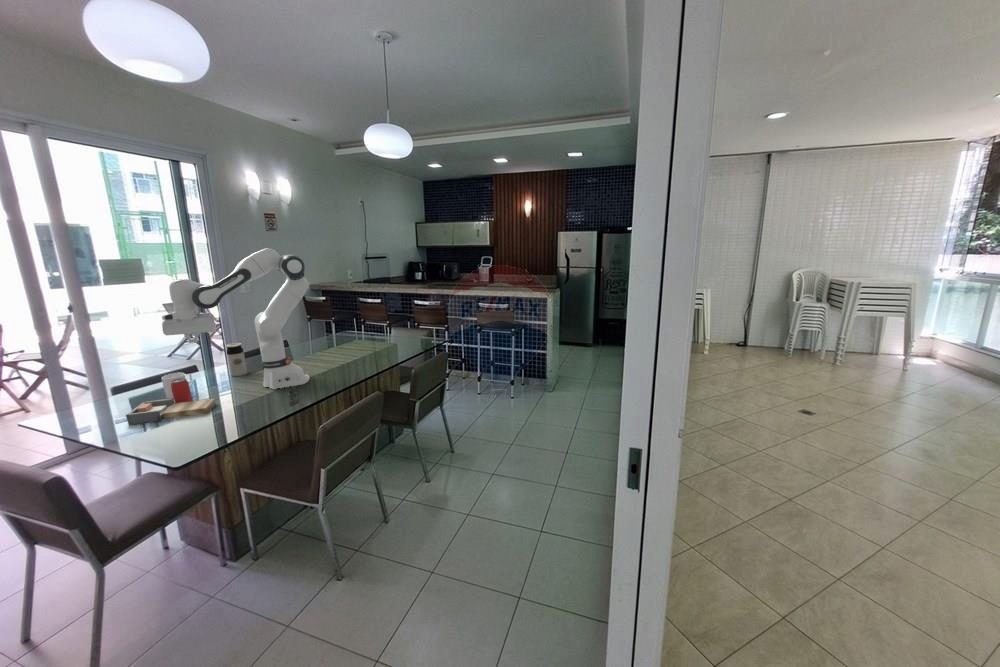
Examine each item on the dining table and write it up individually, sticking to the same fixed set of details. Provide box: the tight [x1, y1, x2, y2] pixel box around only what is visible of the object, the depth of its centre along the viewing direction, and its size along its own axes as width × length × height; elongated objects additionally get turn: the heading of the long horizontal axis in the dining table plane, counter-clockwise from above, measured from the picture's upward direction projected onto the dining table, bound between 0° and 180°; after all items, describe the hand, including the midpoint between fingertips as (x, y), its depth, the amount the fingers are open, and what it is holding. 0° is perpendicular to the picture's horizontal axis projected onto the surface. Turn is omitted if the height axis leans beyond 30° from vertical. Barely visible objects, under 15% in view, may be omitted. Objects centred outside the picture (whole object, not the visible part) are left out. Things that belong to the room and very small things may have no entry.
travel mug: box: [225, 342, 248, 377], centre depth 221 cm, size 8×8×18 cm
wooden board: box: [162, 398, 217, 420], centre depth 175 cm, size 16×11×3 cm
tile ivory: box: [149, 405, 167, 413], centre depth 172 cm, size 5×5×3 cm
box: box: [125, 398, 175, 427], centre depth 171 cm, size 11×14×5 cm
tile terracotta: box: [137, 403, 153, 413], centre depth 170 cm, size 5×5×3 cm
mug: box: [161, 372, 193, 400], centre depth 193 cm, size 12×9×11 cm
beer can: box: [171, 377, 194, 403], centre depth 183 cm, size 7×7×12 cm
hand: (193, 342), depth 182 cm, fingers closed
